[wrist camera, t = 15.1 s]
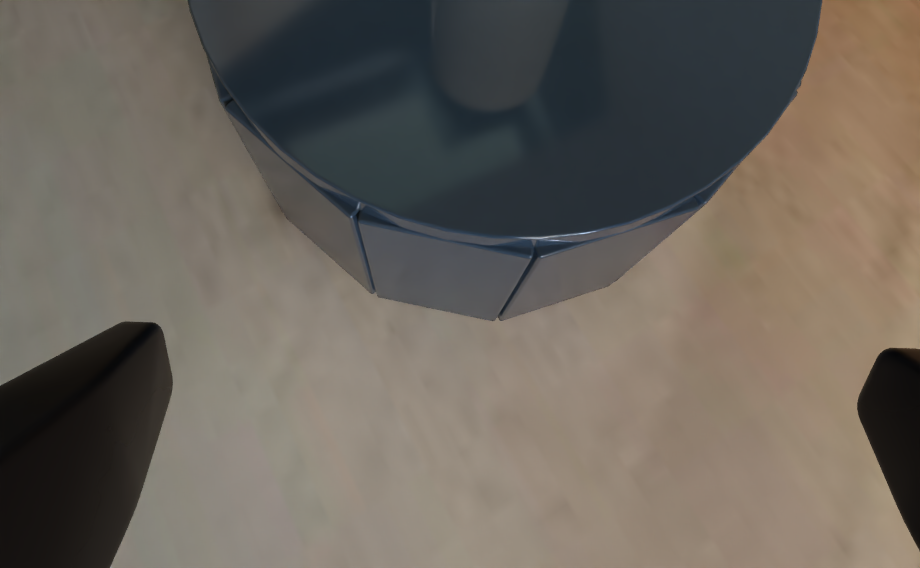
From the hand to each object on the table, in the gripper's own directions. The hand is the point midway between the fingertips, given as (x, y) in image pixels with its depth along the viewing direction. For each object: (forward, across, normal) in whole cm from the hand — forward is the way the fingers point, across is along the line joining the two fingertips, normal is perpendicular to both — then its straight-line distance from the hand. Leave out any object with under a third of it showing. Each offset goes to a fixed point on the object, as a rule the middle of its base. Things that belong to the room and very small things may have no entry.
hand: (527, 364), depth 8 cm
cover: (+11, 0, 0) cm, 11 cm away
